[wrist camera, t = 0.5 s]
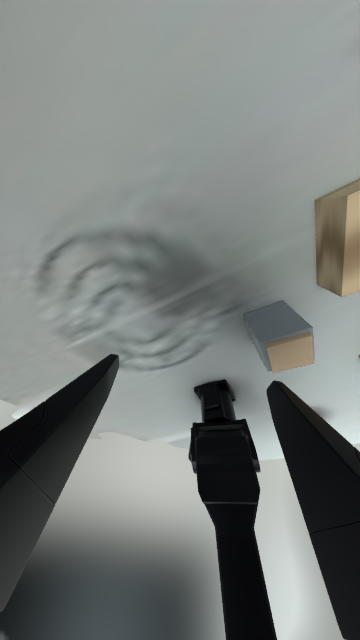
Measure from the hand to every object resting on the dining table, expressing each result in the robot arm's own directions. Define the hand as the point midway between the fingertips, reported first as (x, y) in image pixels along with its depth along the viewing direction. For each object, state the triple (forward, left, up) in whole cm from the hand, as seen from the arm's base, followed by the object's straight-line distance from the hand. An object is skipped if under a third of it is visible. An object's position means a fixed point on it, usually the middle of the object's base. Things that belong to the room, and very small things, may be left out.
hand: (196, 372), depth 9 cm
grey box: (-9, -7, -13) cm, 18 cm away
